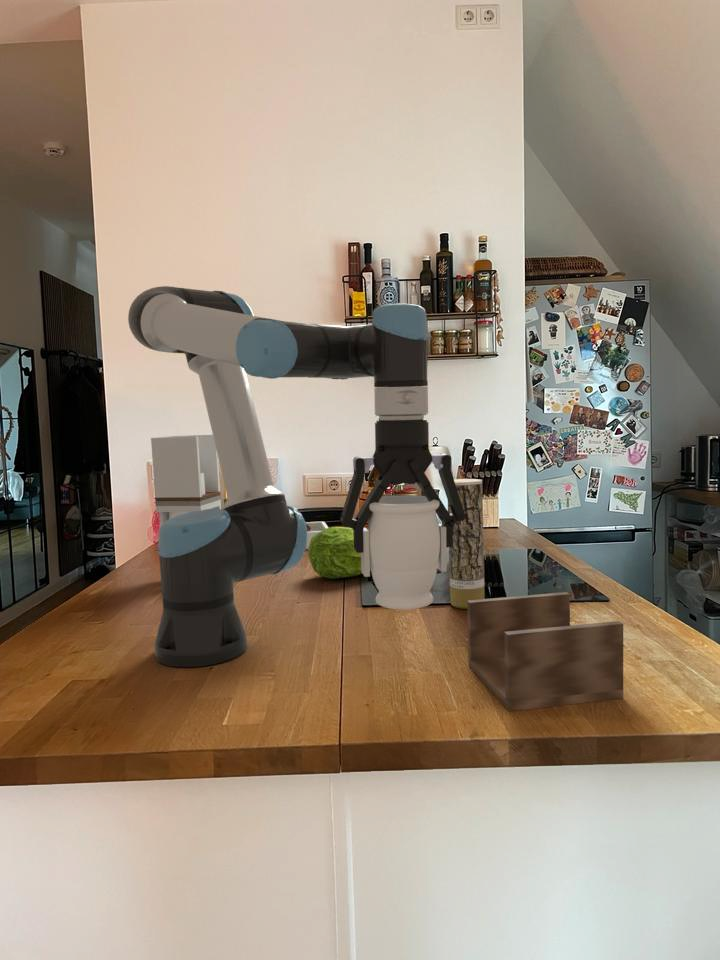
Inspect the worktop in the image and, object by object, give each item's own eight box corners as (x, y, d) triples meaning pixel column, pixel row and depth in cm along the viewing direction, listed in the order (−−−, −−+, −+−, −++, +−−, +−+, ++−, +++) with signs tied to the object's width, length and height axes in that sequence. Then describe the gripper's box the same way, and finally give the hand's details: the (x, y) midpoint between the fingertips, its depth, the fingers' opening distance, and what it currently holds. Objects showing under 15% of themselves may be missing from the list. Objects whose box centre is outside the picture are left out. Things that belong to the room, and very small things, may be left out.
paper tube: (484, 610, 133) (481, 482, 130) (449, 609, 134) (445, 482, 132) (485, 600, 139) (482, 478, 137) (451, 600, 141) (448, 479, 138)
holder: (509, 711, 89) (507, 634, 88) (468, 665, 105) (467, 600, 104) (623, 698, 91) (623, 623, 90) (566, 655, 107) (566, 592, 106)
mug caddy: (276, 551, 197) (275, 534, 196) (273, 540, 215) (272, 524, 214) (331, 547, 199) (330, 530, 199) (324, 536, 217) (323, 521, 217)
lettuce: (411, 549, 165) (383, 514, 174) (336, 552, 152) (310, 514, 161) (390, 589, 171) (365, 553, 180) (316, 595, 158) (292, 556, 167)
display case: (161, 586, 161) (151, 438, 158) (183, 575, 172) (174, 435, 168) (205, 587, 159) (196, 436, 155) (225, 576, 169) (216, 434, 165)
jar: (397, 588, 107) (395, 492, 105) (454, 599, 100) (453, 497, 98) (353, 604, 99) (351, 501, 97) (412, 618, 92) (411, 507, 90)
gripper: (323, 421, 91) (327, 583, 93) (489, 416, 94) (489, 573, 97) (317, 419, 98) (321, 570, 101) (471, 415, 102) (471, 561, 104)
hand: (403, 571), depth 99 cm, fingers closed on jar, 10 cm apart
